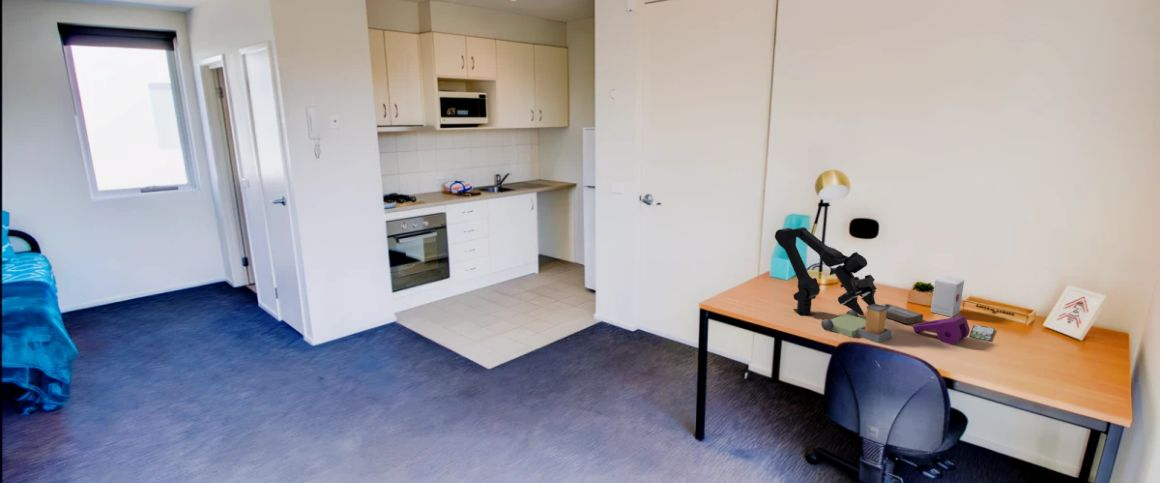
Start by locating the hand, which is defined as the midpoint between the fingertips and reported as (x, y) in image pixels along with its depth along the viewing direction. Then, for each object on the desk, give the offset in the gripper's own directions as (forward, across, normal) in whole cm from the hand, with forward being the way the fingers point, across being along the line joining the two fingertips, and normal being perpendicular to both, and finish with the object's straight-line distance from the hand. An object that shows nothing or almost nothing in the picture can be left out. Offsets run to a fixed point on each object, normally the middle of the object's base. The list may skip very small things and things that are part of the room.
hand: (869, 312), depth 243 cm
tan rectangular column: (+9, 0, +4) cm, 10 cm away
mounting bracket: (+19, +21, -6) cm, 29 cm away
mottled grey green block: (+25, +37, -12) cm, 47 cm away
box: (+5, +28, +9) cm, 30 cm away
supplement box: (+11, +50, +2) cm, 51 cm away
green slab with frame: (+4, 0, +9) cm, 10 cm away
